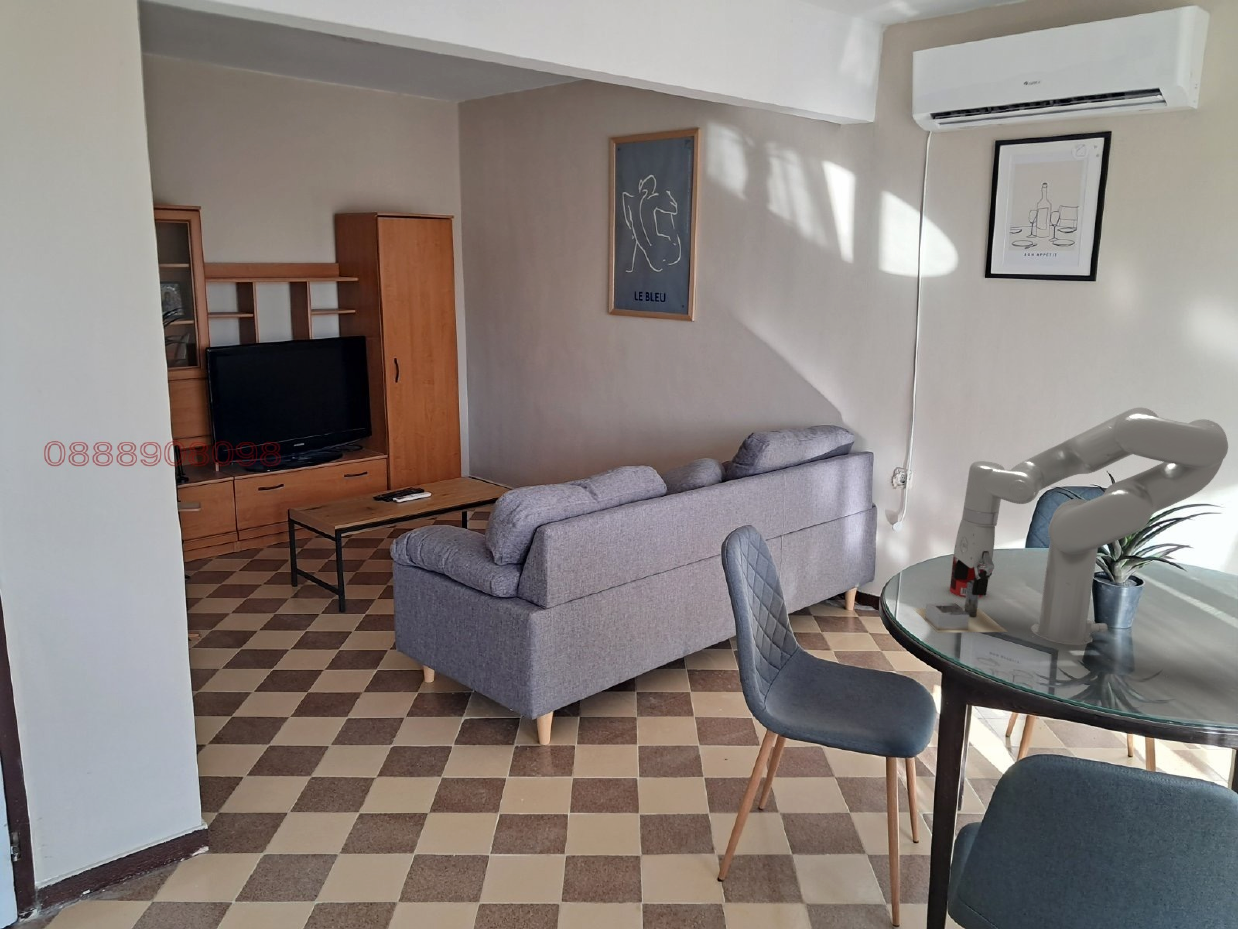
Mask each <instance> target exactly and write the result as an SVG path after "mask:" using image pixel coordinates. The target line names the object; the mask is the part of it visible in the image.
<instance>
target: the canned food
mask: <svg viewBox="0 0 1238 929" xmlns="http://www.w3.org/2000/svg"><path fill="white" fill-rule="evenodd" d="M955 558H956V556H955V555H954V554H953V558H952V566H951V574H950V576H951V577H950V584H949V585H950V586H949V593H951V594H953V595H955V596H958V597H962V598H966V590H967V581H970V580H973V581H974V578H976V574H975V569H974V567H973V568H969V570H968V576H967V579H966V580H955V579H954V578H953V576H954V569H955V563H957V562H955ZM978 565H981V564H978ZM979 570H980V573H981V572H982V571H983V570H984V569H979ZM983 596H984V595H979V598H982V597H983Z"/></svg>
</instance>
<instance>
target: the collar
mask: <svg viewBox="0 0 1238 929" xmlns="http://www.w3.org/2000/svg"><path fill="white" fill-rule="evenodd" d="M925 609H926V612H925V619H927V620H928V621H929V622H930V623H931V624H932V625H933V626H934V627H935V628H936V629H937V630H968V623H969V614H968V613H967V612H965V611H964V610H963V609H964V608H962V607H961V606H959V605H958V604H957V602H956V603H954V602H953V603H951V602H950V603H926V605H925Z"/></svg>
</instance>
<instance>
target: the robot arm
mask: <svg viewBox="0 0 1238 929" xmlns="http://www.w3.org/2000/svg"><path fill="white" fill-rule="evenodd" d="M1228 450H1229V443H1228V438H1227V434H1226V432H1225V430H1224V429H1223V427H1222V426H1221V425H1220V424H1218V423H1217V422H1215V421H1213V420H1210V419H1204V418H1203V419H1201V418H1200V419H1196V420H1193V421H1190V422H1189V423H1187V422H1183V421H1177V420H1173V419H1168V418H1164V417H1159V416H1158V414H1157V413H1156V412H1154V411H1153V410H1151V409H1150V408H1147V407H1133V408H1131V409H1128V410H1126V411H1124V412H1122V413H1120V414H1118V415H1116V416H1114V417H1112V418H1110V419H1108V420H1105V421H1104V422H1102V423H1100V424H1097V425H1095V426H1093V427H1091V428H1090V429H1087V430H1086V431H1083V432H1082V433H1079V434H1077V435H1074V436H1073V437H1070V438H1068V439H1067V440H1064V441H1063V442H1062V443H1059V444H1057V445H1055V446H1052V447H1050V448H1048V449H1046V450H1044V451H1042V452H1039V453H1038V454H1036V455H1033V456H1032V457H1029V458H1028V459H1025V460H1024V461H1022V462H1020V463H1018V464H1016V465H1015V466H1013V467H1012V468H1011V469H1005V467H1004V466H1002V464H999V463H996V462H992V461H985V460H983V461H982V460H979V461H978V460H977V461H975V462H973V463H971V464H970V466H969V471H968V477H967V483H966V490H965V495H964V496H965V497H964V504H963V510H962V515H961V520H960V522H959V526H958V530H957V534H956V539H955V543H954V550H953V556H954V555H955V556H956V558H955V562H957V563H955V569H954V576H953V578H954V579H955V580H966V579H967V576H968V570H969V568H973V567H974V569H975V574H976V578H974V581H973V587H972V594H973V595H983V596H986V595H987V590H988V586H989V585H988V584H989V581H990V579H991V576H992V575H993V571H994V569H995V564H994V562H993V558H994V557H993V556H994V549H995V541H996V540H995V538H996V526H997V525H998V519H999V514H1000V513H999V512H1000V506H1001V500H1004V501H1006V502H1009V503H1013V504H1015V505H1024V504H1029V503H1031V502H1032V501H1033V500H1034V499H1036V497H1037V496H1038V495H1039V493H1040V491H1042V490H1043V489H1045V488H1047V487H1050V486H1052V485H1054V484H1055V483H1058V482H1061V481H1063V480H1065V479H1068V478H1070V477H1073V476H1077V475H1088V474H1092V473H1095V472H1099V471H1100V470H1102V469H1104V468H1106V467H1108V466H1110V465H1112V464H1114V463H1117V462H1118V461H1120V460H1123V459H1125V458H1127V457H1130V456H1132V455H1135V456H1137V457H1141V458H1146V459H1149V460H1155V461H1158V462H1161V463H1160V464H1157V465H1155V466H1153V467H1150V468H1148V469H1147V470H1144V471H1142V472H1139V473H1137V474H1135V475H1132V476H1130V477H1127V478H1124V479H1121V480H1119V481H1116V482H1113V483H1112V484H1110V485H1109V486H1108V487H1107V488H1106V489H1105V491H1104V493H1103V494H1101V495H1099V496H1097V497H1095V498H1092V499H1091V500H1086V499H1081V498H1073V499H1068V500H1066V501H1064V502H1063V503H1061V504H1060V505H1058V507H1057V508H1056V509H1055V511H1054V512H1053V515H1052V517H1051V520H1050V522H1049V526H1048V531H1047V533H1048V538H1049V547H1048V553H1047V559H1046V568H1045V573H1044V575H1045V576H1044V582H1043V588H1042V589H1043V590H1042V597H1041V599H1042V600H1041V603H1040V604H1041V605H1040V612H1039V620H1038V623H1037V622H1036V623H1034V624H1033V625H1031V626H1030V630H1031V632H1032V633H1033V634H1035V635H1036V636H1038V637H1040V638H1042V639H1044V640H1047V641H1050V642H1053V643H1058V644H1062V645H1063V644H1064V645H1075V646H1076V645H1085V644H1089V643H1093V636H1092V635H1091V634H1094V633H1096V632H1097V633H1107V632H1108V629H1109V628H1108V625H1107V623H1106V622H1105V623H1103V622H1101V623H1096V622H1095V620H1094V619H1093V620H1092V619H1091V620H1088V617H1089V612H1090V611H1089V610H1090V605H1091V604H1090V603H1091V595H1092V589H1093V584H1094V583H1093V582H1094V576H1095V571H1096V564H1097V563H1096V562H1097V555H1098V550H1099V548H1101V547H1104V546H1106V545H1108V544H1112V543H1114V542H1116V541H1119V540H1121V539H1124V538H1126V537H1129V536H1131V535H1133V534H1136V533H1137V532H1138V531H1139V532H1140V531H1141V530H1142V529H1143V528H1144V527H1146V525H1148V523H1149V522H1150V520H1151V518H1152V516H1153V514H1154V513H1157V512H1159V511H1161V510H1164V509H1166V508H1169V507H1171V506H1174V505H1175V504H1177V503H1180V502H1182V501H1185V500H1186V499H1189V498H1191V497H1193V496H1194V495H1196V494H1198V493H1199V492H1201V491H1202V490H1203V489H1205V487H1207V486H1208V485H1209V484H1210V483H1211V482H1212V480H1213V479H1214V478H1215V477H1216V475H1217V473H1218V472H1219V470H1220V468H1221V466H1222V464H1223V461H1224V459H1225V458H1226V456H1227V454H1228ZM978 564H981V565H978ZM979 569H984V570H983V571H982V572H981V573H980V570H979Z"/></svg>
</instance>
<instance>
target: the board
mask: <svg viewBox="0 0 1238 929" xmlns="http://www.w3.org/2000/svg"><path fill="white" fill-rule="evenodd" d="M962 609H963V610H964V608H962ZM913 611H915V613H917V615H919V616H920V618H922V619H923V620H924V621H925V622H926V623H927V624H928V625H929V626H931V628H933V630H935V632H937V633H938V634H940V633H941V634H942V633H943V634H944V633H945V634H946V633H947V634H949V633H951V634H952V633H954V634H955V633H956V634H957V633H1008V631H1007V630H1006V629H1005V628H1003V627H1002V626H1001V625H1000V624H998V623H997V622H996V621H995V620H993V619H992V617H990V616H989V615H987V613H985V612H984V611H983V610H981V609H980V608H977V616H976V617H969V623H968V630H937V629H936V628H935V627H934V626H933V625H932V624H931V623H930V622H929V621H928V620H927V619H925V612H926V608H914V609H913Z"/></svg>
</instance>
